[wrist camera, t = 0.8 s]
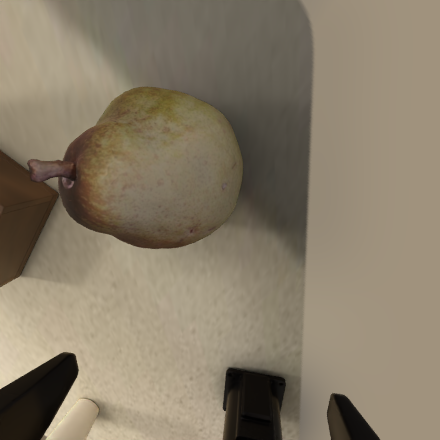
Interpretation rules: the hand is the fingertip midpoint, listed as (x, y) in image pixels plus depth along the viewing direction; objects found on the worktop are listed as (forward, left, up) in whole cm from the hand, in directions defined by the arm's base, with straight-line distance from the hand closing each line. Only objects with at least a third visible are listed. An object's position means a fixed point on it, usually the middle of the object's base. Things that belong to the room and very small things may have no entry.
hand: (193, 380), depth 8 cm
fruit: (+6, +4, -14) cm, 16 cm away
